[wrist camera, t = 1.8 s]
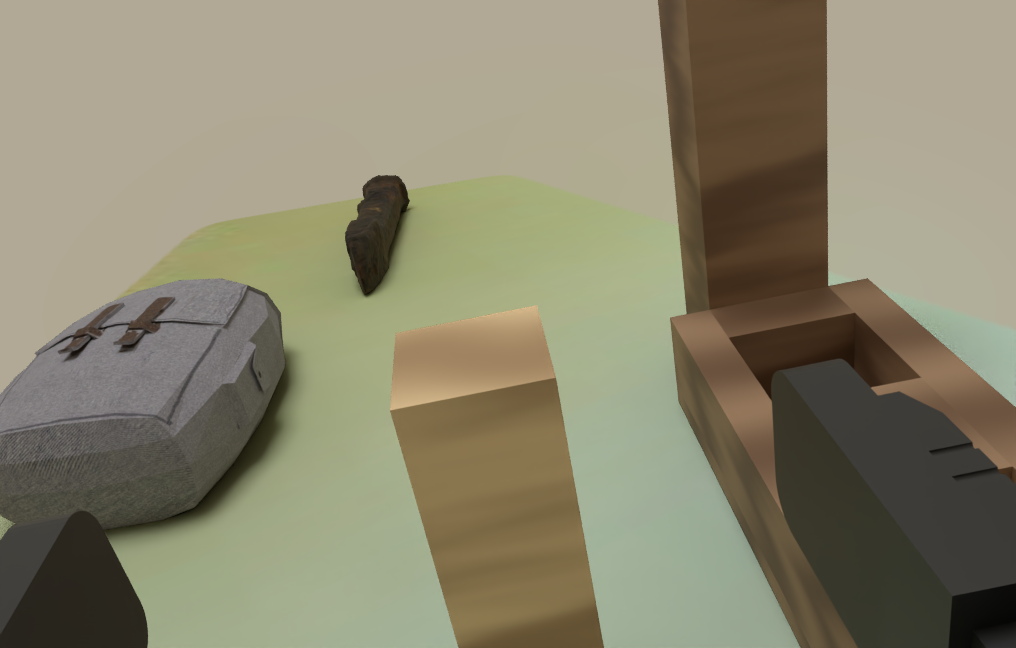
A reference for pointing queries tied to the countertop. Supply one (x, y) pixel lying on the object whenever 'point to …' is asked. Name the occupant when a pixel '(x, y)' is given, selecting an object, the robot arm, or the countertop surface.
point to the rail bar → (495, 481)
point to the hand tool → (375, 228)
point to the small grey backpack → (140, 404)
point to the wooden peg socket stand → (779, 273)
